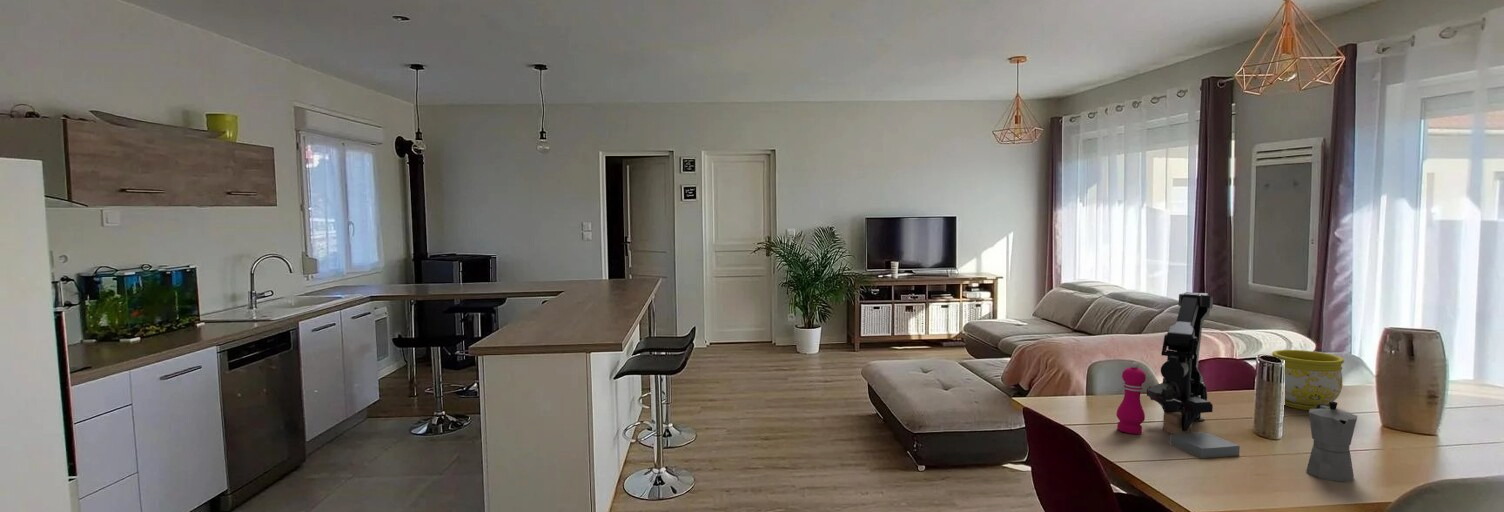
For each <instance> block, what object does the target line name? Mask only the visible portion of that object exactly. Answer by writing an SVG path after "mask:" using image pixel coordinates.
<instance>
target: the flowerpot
mask: <svg viewBox="0 0 1504 512" xmlns="http://www.w3.org/2000/svg"><path fill="white" fill-rule="evenodd" d="M1271 354H1272V357H1273V356H1274V357H1278V358H1282V359H1284V360H1285V405H1284V406H1285V407H1289V408H1293V409H1297V410H1302V411H1310V409H1316V407H1317V405H1318V404H1324V405H1325V406H1328V407H1329V408H1330V405H1329V402H1332V401H1333V402H1336V400H1337V399H1338V397H1339V396H1340V394H1341V393H1342V389H1343V373H1342V369H1343V367H1342V365H1343V364H1344V363H1345V359H1344V358H1343V357H1341V356H1338V355H1336V354H1331V353H1325V352H1320V351H1313V350H1312V351H1311V350H1299V349H1280V350H1275V351H1272V353H1271ZM1274 357H1273V358H1274Z"/></svg>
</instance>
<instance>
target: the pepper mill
mask: <svg viewBox="0 0 1504 512" xmlns="http://www.w3.org/2000/svg"><path fill="white" fill-rule="evenodd" d="M1130 365H1131V366H1130V367H1126V368H1124V370H1123V371H1122V373H1121V378H1122V381H1124V383H1123V385H1122V388H1123V389H1124V394H1123V395H1124V396H1123V399H1122V401H1121V403H1120V404H1119V406H1118V408H1117V410H1116V413H1115V414H1116V417H1117V420H1118V422H1117V427H1116V428H1117V430H1118V431H1121V432H1123V433H1126V434H1133V435H1134V434H1136V435H1137V434H1142V433H1143V426H1142V425H1141V424H1142V423H1143V422H1144V421H1145V420H1146V418H1145V417H1146V415H1145V410H1144V409H1143V406H1142V404H1141V403H1142V402H1141V392H1142V391H1143V390H1144V389H1143V387H1144V386H1143V384H1144V383H1145V382H1146V378H1147V377H1146V373H1145V371H1144V370H1142V369H1141V368H1139V364H1138V362H1136V361H1134V362H1132V363H1131V364H1130Z"/></svg>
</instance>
